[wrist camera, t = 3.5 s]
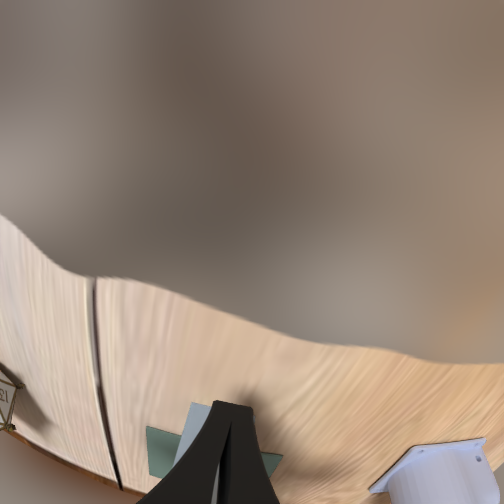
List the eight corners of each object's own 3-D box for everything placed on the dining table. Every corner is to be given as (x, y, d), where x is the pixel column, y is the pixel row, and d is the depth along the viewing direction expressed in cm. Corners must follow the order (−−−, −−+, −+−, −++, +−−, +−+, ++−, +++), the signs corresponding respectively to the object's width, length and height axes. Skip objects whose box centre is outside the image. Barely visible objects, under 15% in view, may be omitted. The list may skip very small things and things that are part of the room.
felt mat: (282, 455, 19) (282, 457, 19) (255, 496, 22) (255, 497, 22) (146, 426, 19) (145, 427, 19) (150, 473, 22) (149, 474, 22)
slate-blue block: (255, 415, 17) (243, 530, 10) (242, 447, 19) (230, 544, 11) (191, 402, 17) (159, 513, 10) (187, 435, 19) (161, 530, 11)
